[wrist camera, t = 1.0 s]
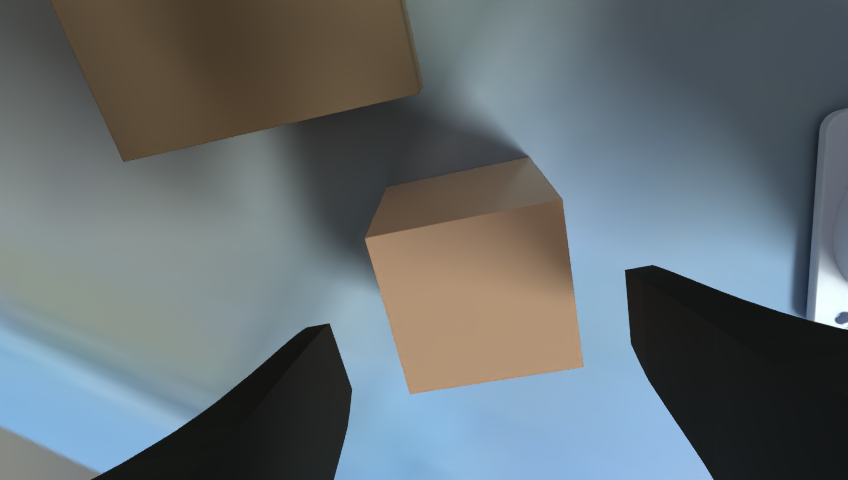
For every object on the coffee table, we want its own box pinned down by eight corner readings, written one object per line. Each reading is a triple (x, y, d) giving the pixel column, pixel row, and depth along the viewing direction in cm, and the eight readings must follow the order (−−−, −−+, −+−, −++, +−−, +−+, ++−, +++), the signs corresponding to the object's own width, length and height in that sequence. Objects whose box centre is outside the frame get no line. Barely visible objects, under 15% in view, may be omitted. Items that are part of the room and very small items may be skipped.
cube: (529, 156, 16) (562, 198, 12) (548, 285, 18) (583, 367, 13) (387, 186, 17) (364, 238, 12) (419, 308, 19) (409, 393, 14)
